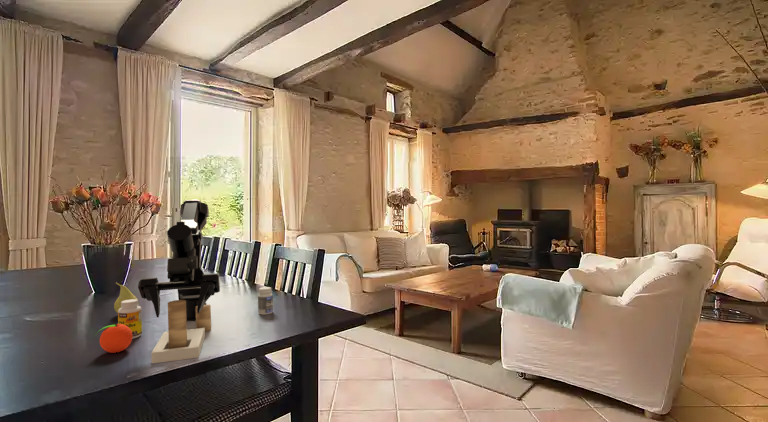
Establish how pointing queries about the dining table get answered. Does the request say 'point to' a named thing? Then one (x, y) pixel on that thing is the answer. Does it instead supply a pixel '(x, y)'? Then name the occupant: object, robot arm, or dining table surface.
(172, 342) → the long dowel
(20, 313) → the dining table surface
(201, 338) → the hole plate
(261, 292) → the pill bottle
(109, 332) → the clementine
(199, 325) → the short dowel
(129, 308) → the supplement bottle
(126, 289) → the fruit
